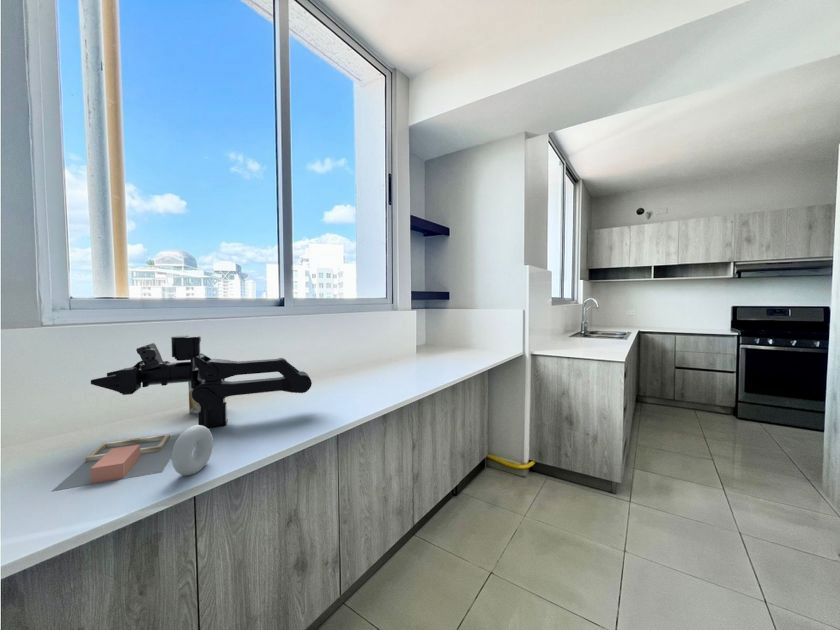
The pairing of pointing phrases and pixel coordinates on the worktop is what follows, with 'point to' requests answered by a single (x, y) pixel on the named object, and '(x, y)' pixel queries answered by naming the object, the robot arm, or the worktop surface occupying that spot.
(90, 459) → the slot frame
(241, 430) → the worktop surface
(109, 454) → the card deck
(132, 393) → the robot arm
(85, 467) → the mat
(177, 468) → the donut
